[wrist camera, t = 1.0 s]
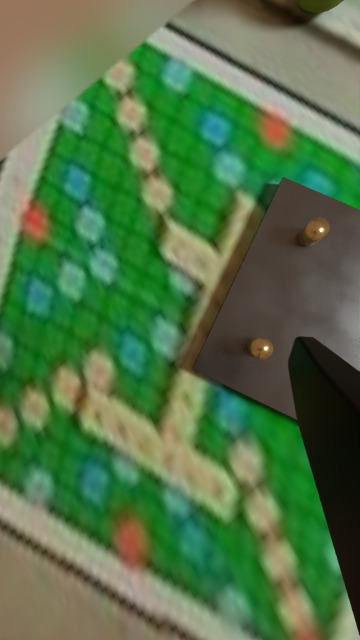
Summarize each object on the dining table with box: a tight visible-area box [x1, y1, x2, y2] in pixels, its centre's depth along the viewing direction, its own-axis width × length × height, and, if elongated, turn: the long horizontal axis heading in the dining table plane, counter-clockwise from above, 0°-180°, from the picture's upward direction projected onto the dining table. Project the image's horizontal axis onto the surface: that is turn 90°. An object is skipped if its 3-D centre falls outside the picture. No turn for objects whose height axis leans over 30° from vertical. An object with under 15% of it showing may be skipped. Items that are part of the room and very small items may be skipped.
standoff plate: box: [193, 177, 360, 420], centre depth 20 cm, size 16×16×3 cm
